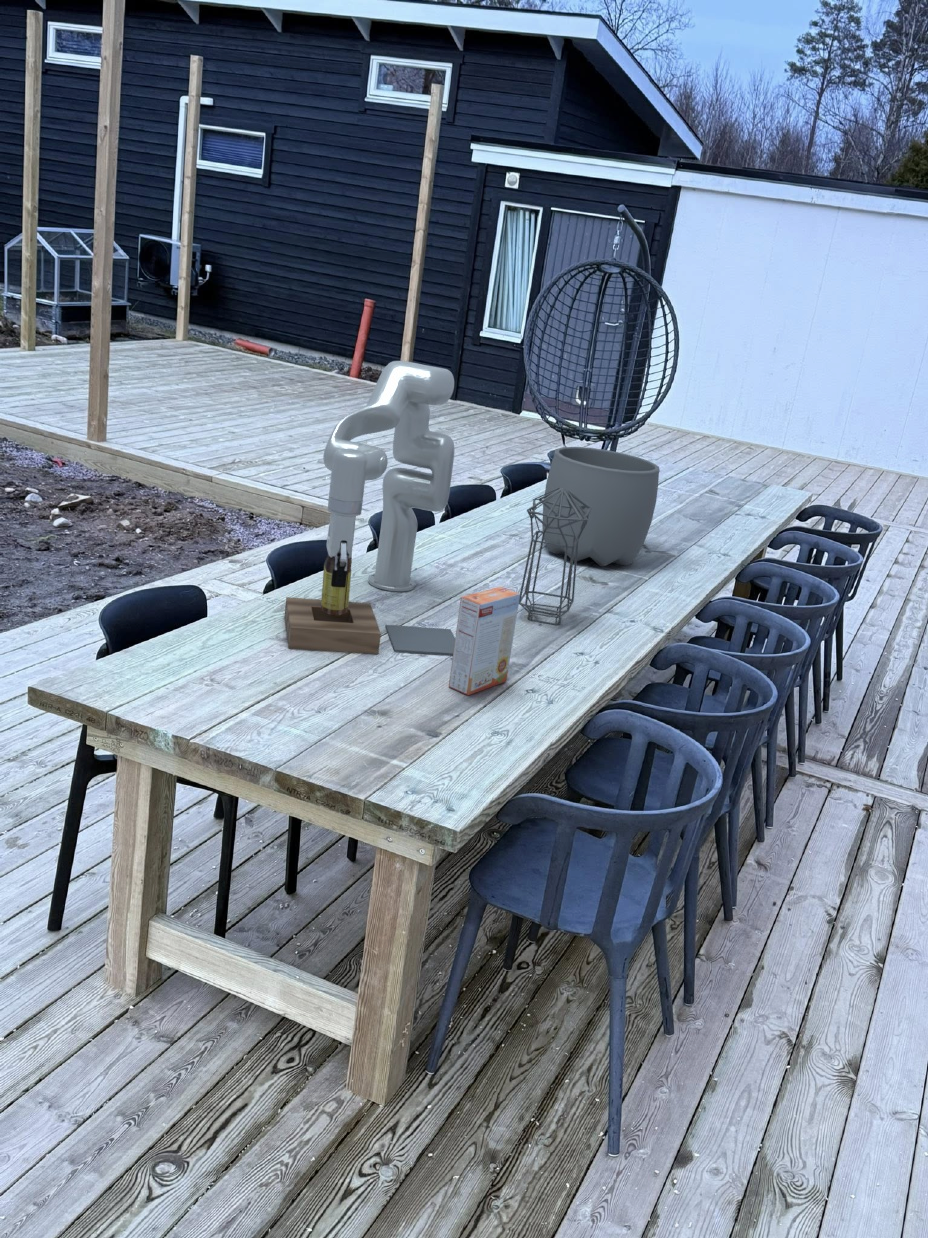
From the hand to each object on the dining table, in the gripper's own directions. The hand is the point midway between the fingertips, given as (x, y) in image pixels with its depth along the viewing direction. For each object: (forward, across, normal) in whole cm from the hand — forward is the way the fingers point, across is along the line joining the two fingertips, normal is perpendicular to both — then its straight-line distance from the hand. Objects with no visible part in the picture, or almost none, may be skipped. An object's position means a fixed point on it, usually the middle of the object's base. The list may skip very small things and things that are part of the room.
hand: (336, 580), depth 256 cm
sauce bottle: (+8, 0, 0) cm, 8 cm away
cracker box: (+13, +25, +30) cm, 41 cm away
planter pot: (+15, -85, +90) cm, 125 cm away
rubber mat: (+13, +1, +22) cm, 25 cm away
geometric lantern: (+14, -22, +57) cm, 63 cm away
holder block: (+13, +1, 0) cm, 13 cm away
